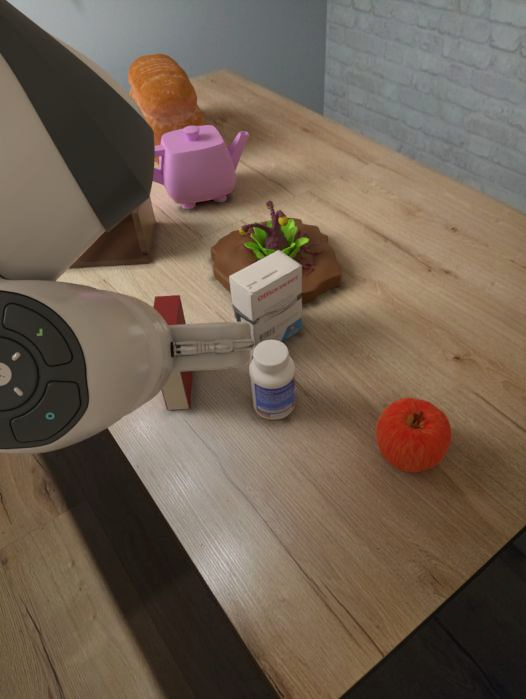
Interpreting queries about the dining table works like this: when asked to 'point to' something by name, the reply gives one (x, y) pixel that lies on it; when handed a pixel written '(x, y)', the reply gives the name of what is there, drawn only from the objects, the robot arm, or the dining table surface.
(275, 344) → the pill bottle
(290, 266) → the ink box
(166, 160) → the teapot
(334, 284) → the plant
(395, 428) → the apple
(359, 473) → the dining table surface
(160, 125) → the bread
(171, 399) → the book
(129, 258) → the book stand
